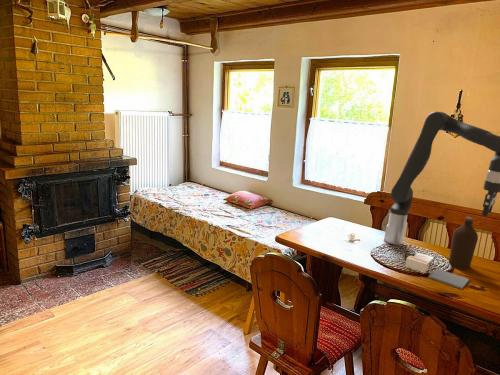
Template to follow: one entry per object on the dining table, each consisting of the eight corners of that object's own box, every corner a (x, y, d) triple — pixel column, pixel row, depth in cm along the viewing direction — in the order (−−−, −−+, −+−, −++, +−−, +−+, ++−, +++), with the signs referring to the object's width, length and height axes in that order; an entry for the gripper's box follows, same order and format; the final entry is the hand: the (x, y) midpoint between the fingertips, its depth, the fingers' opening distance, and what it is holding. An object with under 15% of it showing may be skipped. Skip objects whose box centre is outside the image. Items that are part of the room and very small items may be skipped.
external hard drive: (409, 261, 187) (417, 255, 196) (427, 267, 182) (433, 260, 191) (410, 258, 186) (417, 252, 196) (427, 264, 181) (434, 257, 191)
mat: (428, 277, 169) (428, 275, 169) (436, 270, 178) (436, 268, 178) (461, 289, 160) (462, 287, 160) (468, 280, 169) (469, 279, 169)
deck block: (405, 267, 179) (406, 257, 178) (408, 264, 182) (410, 255, 181) (424, 274, 173) (426, 263, 172) (427, 271, 176) (429, 261, 175)
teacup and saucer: (358, 239, 213) (359, 232, 212) (361, 244, 205) (362, 237, 204) (343, 237, 214) (344, 230, 213) (345, 242, 206) (346, 235, 205)
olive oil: (461, 271, 179) (472, 222, 173) (442, 262, 188) (452, 215, 182) (475, 268, 183) (487, 220, 177) (456, 259, 193) (466, 213, 187)
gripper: (488, 177, 179) (480, 209, 183) (482, 180, 168) (474, 214, 172) (506, 180, 174) (498, 213, 178) (501, 184, 164) (492, 219, 168)
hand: (486, 214), depth 175 cm, fingers open, 8 cm apart
